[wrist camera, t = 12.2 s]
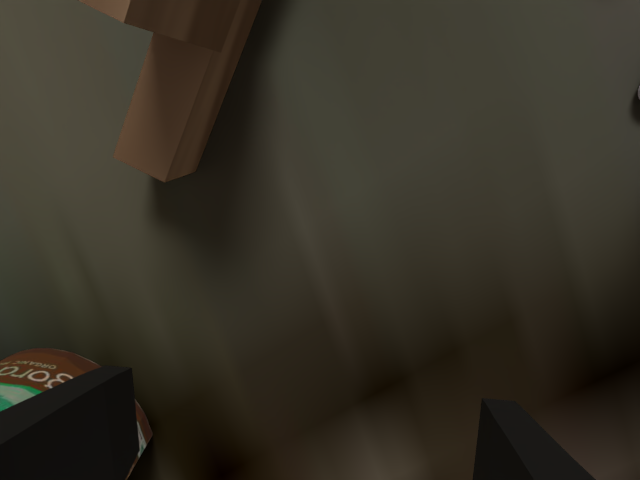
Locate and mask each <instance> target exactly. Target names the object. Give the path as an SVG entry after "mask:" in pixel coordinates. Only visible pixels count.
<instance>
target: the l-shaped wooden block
mask: <svg viewBox="0 0 640 480" xmlns="http://www.w3.org/2000/svg"><path fill="white" fill-rule="evenodd" d="M78 1H80V2H82V3H84V4H86V5H88V6H90V7H92V8H94V9H96V10H99V11H101V12H103V13H105V14H107V15H109V16H111V17H113V18H115V19H117V20H119V21H121V22H123V23H126V24H129V25H132V26H135V27H139V28H142V29H145V30H148V31H152V32H154V33H153V36H152V39H151V42H150V45H149V48H148V51H147V55H146V58H145V61H144V64H143V67H142V70H141V73H140V76H139V79H138V82H137V85H136V88H135V91H134V94H133V97H132V100H131V103H130V106H129V109H128V112H127V115H126V118H125V121H124V124H123V127H122V130H121V133H120V137H119V140H118V143H117V146H116V149H115V152H114V155H113V157H114V158H116V159H118V160H120V161H122V162H124V163H126V164H128V165H130V166H132V167H134V168H136V169H138V170H140V171H142V172H144V173H146V174H148V175H150V176H152V177H154V178H156V179H158V180H160V181H162V182H164V183H165V182H168V181H171V180H173V179H176V178H179V177H182V176H185V175H188V174H191V173H193V172H196V170H197V167H198V164H199V162H200V159H201V157H202V154H203V151H204V149H205V146H206V144H207V141H208V139H209V136H210V133H211V131H212V128H213V126H214V123H215V121H216V118H217V115H218V113H219V110H220V108H221V105H222V102H223V100H224V97H225V95H226V92H227V90H228V87H229V84H230V82H231V79H232V77H233V74H234V71H235V69H236V66H237V64H238V61H239V59H240V56H241V53H242V51H243V48H244V46H245V43H246V40H247V38H248V35H249V33H250V30H251V28H252V25H253V22H254V20H255V17H256V15H257V12H258V9H259V7H260V4H261V2H262V0H78Z"/></svg>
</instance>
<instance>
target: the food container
mask: <svg viewBox="0 0 640 480" xmlns="http://www.w3.org/2000/svg"><path fill="white" fill-rule="evenodd" d="M99 367H102V366H100V365H98V364H96V363H94V362H92V361H90V360H88V359H86V358H84V357H82V356H80V355H77V354H75V353H73V352H68V351H63V350H57V349H52V348H34V349H29V350H23V351H20V352H18V353H15V354H13V355H10V356H8V357H7V358H5V359H3V360H1V361H0V411H2V410H4V409H7V408H9V407H11V406H13V405H15V404H17V403H20V402H22V401H24V400H26V399H28V398H31V397H33V396H35V395H37V394H39V393H41V392H44V391H46V390H48V389H50V388H52V387H54V386H57V385H59V384H61V383H63V382H65V381H68V380H70V379H72V378H74V377H77V376H79V375H81V374H84V373H86V372H89V371H91V370H94V369H97V368H99ZM135 406H136V416H137V427H138V437H139V447H140V451H139V453H138V455H137V457H136V459H135V461H134V463H133V465H132V467H131V469H130V471H129V473H128V475H127V477H126V479H125V480H127V478H128V477H129V475H130V473H131V471H132V470H133V468H134V466H135V464H136V463H137V461H138V459H139V458H140V456H141V454H142V452H143V451H144V449H145V447H146V445H147V444H148V442H149V440H150V438H151V437H152V435H153V434H152V431H151V428H150V426H149V423H148V420H147V418H146V415H145V413H144V411H143V410H142V409H141V407H140V406H139V404H138V403H137V401H136V400H135Z"/></svg>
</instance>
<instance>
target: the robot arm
mask: <svg viewBox="0 0 640 480" xmlns="http://www.w3.org/2000/svg"><path fill="white" fill-rule="evenodd" d="M638 97H639V99H640V86H639V89H638ZM139 451H140V447H139V437H138V427H137V416H136V406H135V396H134V386H133V376H132V368H127V367H115V366H102V367H99V368H97V369H94V370H91V371H89V372H86V373H84V374H81V375H79V376H77V377H74V378H72V379H70V380H68V381H65V382H63V383H61V384H59V385H57V386H54V387H52V388H50V389H48V390H46V391H44V392H41V393H39V394H37V395H35V396H33V397H31V398H28V399H26V400H24V401H22V402H20V403H17V404H15V405H13V406H11V407H9V408H7V409H4V410H2V411H0V480H125V479H126V477H127V475H128V473H129V471H130V469H131V467H132V465H133V463H134V461H135V459H136V457H137V455H138V453H139ZM473 480H596V479H594V478H593V477H592V476H591V475H590V474H589V473H588V472H587V471H586V470H585V469H584V468H583V467H582V466H580V465H579V464H578V463H577V462H576V461H575V460H574V459H573V458H572V457H571V456H570V455H569V454H568V453H567V452H566V451H565V450H564V449H563V448H562V447H561V446H560V445H559V444H558V443H557V442H556V441H555V440H554V439H553V438H552V437H551V436H550V435H549V434H548V433H547V432H546V431H545V430H544V429H543V428H542V427H541V426H540V425H539V424H538V423H537V422H536V421H535V420H534V419H533V418H532V417H531V416H530V415H529V414H528V413H527V412H526V411H525V410H524V409H523V408H522V407H521V406H520V405H518V404H517V403H516V402H515V401H507V400H495V399H484V398H482V403H481V412H480V421H479V430H478V438H477V447H476V456H475V464H474V473H473Z"/></svg>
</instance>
